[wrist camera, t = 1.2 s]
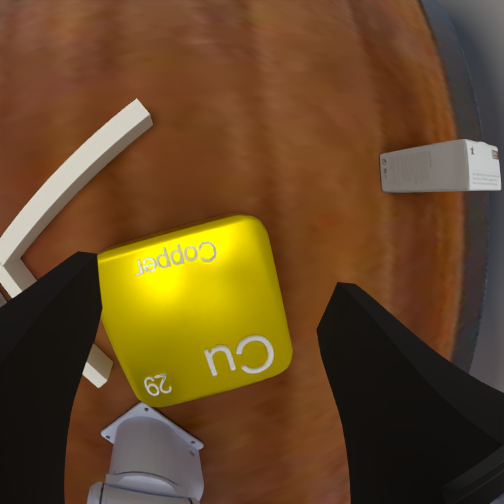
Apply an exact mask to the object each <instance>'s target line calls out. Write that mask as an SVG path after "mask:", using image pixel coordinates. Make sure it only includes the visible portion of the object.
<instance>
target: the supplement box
mask: <svg viewBox="0 0 504 504" xmlns="http://www.w3.org/2000/svg"><path fill="white" fill-rule="evenodd" d="M5 303H7V301H6V300H5V298H4V297H3V295H2V294H1V292H0V307H1V306H3V305H4V304H5Z"/></svg>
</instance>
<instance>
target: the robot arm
mask: <svg viewBox="0 0 504 504" xmlns="http://www.w3.org/2000/svg"><path fill="white" fill-rule="evenodd" d="M102 309H103V306H102V298H101V290H100V281H99V270H98V259H97V254H94V253H87V252H80V251H78V252H77V253H75V254H73V255H72V256H70V257H69V258H67V259H66V260H65V261H63V262H62V263H60V264H59V265H58V266H56V267H55V268H54V269H52V270H51V271H49V272H48V273H47V274H45V275H44V276H43V277H41V278H40V279H39V280H37V281H36V282H35V283H33V284H32V285H31V286H29V287H28V288H27V289H25V290H24V291H22V292H21V293H19V294H18V295H17V296H15V297H14V298H12V299H11V300H10V301H8V302H7V303H5V304H4V305H3V306H1V307H0V504H65V501H64V470H65V454H66V444H67V435H68V428H69V422H70V416H71V410H72V406H73V402H74V398H75V395H76V392H77V388H78V385H79V382H80V379H81V376H82V373H83V371H84V368H85V365H86V362H87V359H88V356H89V354H90V351H91V348H92V345H93V343H94V340H95V337H96V333H97V329H98V325H99V321H100V317H101V313H102ZM317 335H318V342H319V347H320V353H321V357H322V361H323V364H324V367H325V370H326V374H327V377H328V380H329V383H330V386H331V389H332V392H333V395H334V399H335V402H336V405H337V408H338V411H339V415H340V418H341V422H342V426H343V432H344V438H345V444H346V450H347V458H348V466H349V476H350V493H351V504H504V393H503V392H501V391H498V390H496V389H494V388H492V387H490V386H488V385H486V384H485V383H482V382H480V381H479V380H477V379H476V378H474V377H472V376H471V375H469V374H467V373H466V372H464V371H463V370H461V369H460V368H458V367H457V366H455V365H454V364H452V363H451V362H449V361H448V360H447V359H445V358H444V357H442V356H441V355H440V354H438V353H437V352H436V351H434V350H433V349H432V348H430V347H429V346H428V345H427V344H426V343H424V342H423V341H422V340H421V339H419V338H418V337H417V336H416V335H415V334H413V333H412V332H411V331H410V330H409V329H408V328H406V327H405V326H404V325H403V324H402V323H401V322H400V321H398V320H397V319H396V318H395V317H394V316H393V315H392V314H390V313H389V312H388V311H387V310H386V309H385V308H384V307H383V306H381V305H380V304H379V303H378V302H377V301H376V300H375V299H373V298H372V297H371V296H370V295H369V294H367V293H366V292H365V291H364V290H362V289H361V288H360V287H358V286H357V285H355V284H352V283H342V282H337V285H336V287H335V289H334V292H333V294H332V296H331V299H330V301H329V303H328V305H327V308H326V310H325V312H324V314H323V316H322V319H321V321H320V323H319V325H318V327H317ZM145 408H148V409H145ZM101 435H102V436H103V437H104V438H106V439H107V440H108V441H110V442H111V443H113V444H114V445H113V451H112V457H111V463H110V470H109V474H106V479H105V485H104V483H102V482H99V481H97V482H96V484H93V485H92V486H91V487H90V490H89V495H88V501H87V504H201V503H200V502H199V501H200V499H201V496H202V494H203V489H204V482H203V476H202V470H201V464H200V457H199V451H198V450H200V449H201V448H203V443H202V442H201V441H199V440H197V439H196V438H194V437H193V436H191V435H190V434H188V433H187V432H185V431H184V430H183V429H181V428H180V427H178V426H177V425H175V424H174V423H173V422H171V421H170V420H168V419H167V418H166V417H164V416H163V415H162V414H160V413H159V412H158V411H156V410H155V409H154V408H152V407H151V406H148V405H146V404H144V403H143V402H139V403H138V404H137V405H135V406H134V407H133V408H131V409H130V410H129V411H128V412H126V413H125V414H124V415H122V416H121V417H120V418H118V419H117V420H116V421H114V422H113V423H112V424H110V425H109V426H107V427H106V428H105V429H103V430H102V431H101ZM108 436H110V437H108ZM192 441H194V442H192Z"/></svg>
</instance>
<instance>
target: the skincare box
mask: <svg viewBox="0 0 504 504" xmlns="http://www.w3.org/2000/svg"><path fill="white" fill-rule="evenodd" d="M380 170H381V184H382V191H384V192H396V193H403V192H442V191H480V190H501V179H500V168H499V158H498V150H497V148H496V147H495V146H491V145H487V144H486V143H484V142H476V141H472V140H467V139H460V140H453V141H447V142H442V143H436V144H431V145H425V146H420V147H414V148H409V149H404V150H398V151H393V152H388V153H384V154H381V155H380Z"/></svg>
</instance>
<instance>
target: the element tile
mask: <svg viewBox="0 0 504 504" xmlns="http://www.w3.org/2000/svg"><path fill="white" fill-rule="evenodd" d="M97 259H98V270H99V281H100V290H101V298H102V306H103V309H102V313H101V317H100V318H101V320H102V323H103V325H104V328H105V330H106V333H107V335H108V338H109V340H110V342H111V345H112V347H113V349H114V351H115V354H116V356H117V358H118V360H119V363H120V365H121V367H122V369H123V371H124V373H125V375H126V377H127V379H128V381H129V383H130V386H131V388H132V389H133V391H134V393H135V395H136V397H137V398H138V399H139V400H140V401H141V402H143V403H144V404H146V405H148V406H151V407H167V406H171V405H175V404H180V403H184V402H188V401H192V400H196V399H200V398H204V397H208V396H211V395H215V394H219V393H222V392H226V391H229V390H233V389H236V388H239V387H243V386H246V385H249V384H252V383H255V382H259V381H262V380H265V379H268V378H271V377H274V376H276V375H278V374H280V373H282V372H283V371H284V370H286V369H287V368H288V366H289V365H290V363H291V361H292V357H293V349H292V344H291V339H290V334H289V329H288V325H287V320H286V315H285V310H284V305H283V301H282V296H281V291H280V287H279V282H278V277H277V273H276V268H275V263H274V259H273V254H272V250H271V245H270V241H269V236H268V233H267V231H266V228H265V227H264V225H263V224H262V222H261V221H260V220H259V219H257V218H255V217H254V216H252V215H247V214H242V213H227V214H223V215H219V216H215V217H211V218H207V219H204V220H200V221H196V222H192V223H189V224H185V225H181V226H178V227H174V228H170V229H167V230H163V231H160V232H156V233H152V234H149V235H145V236H142V237H138V238H135V239H132V240H128V241H125V242H121V243H118V244H115V245H112V246H110V247H108V248H107V249H105V250H104V251H102V252H101V253H99V254H98V255H97Z"/></svg>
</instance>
